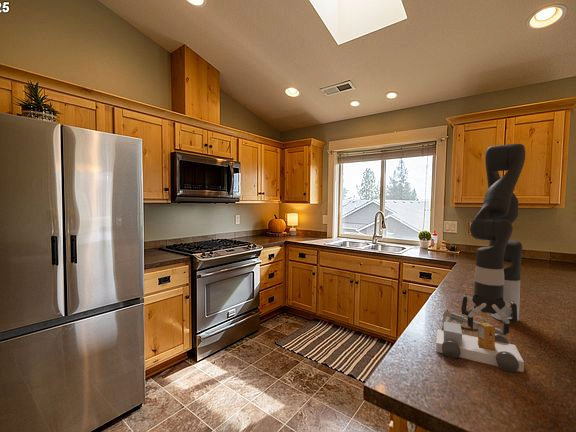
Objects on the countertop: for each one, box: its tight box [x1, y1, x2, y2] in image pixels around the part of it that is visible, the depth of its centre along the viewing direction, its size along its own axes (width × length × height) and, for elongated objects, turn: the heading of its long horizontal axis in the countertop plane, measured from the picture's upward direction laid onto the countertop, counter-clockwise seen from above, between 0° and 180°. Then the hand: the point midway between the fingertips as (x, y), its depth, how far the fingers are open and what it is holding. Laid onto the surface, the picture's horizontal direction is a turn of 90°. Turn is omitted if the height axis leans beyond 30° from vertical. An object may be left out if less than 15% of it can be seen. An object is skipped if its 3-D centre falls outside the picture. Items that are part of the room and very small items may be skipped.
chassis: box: [436, 320, 525, 373], centre depth 88 cm, size 15×22×7 cm
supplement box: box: [477, 322, 496, 351], centre depth 86 cm, size 3×3×10 cm
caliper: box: [442, 308, 503, 335], centre depth 106 cm, size 20×1×6 cm, turn 62°
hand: (487, 330), depth 86 cm, fingers open, 8 cm apart
